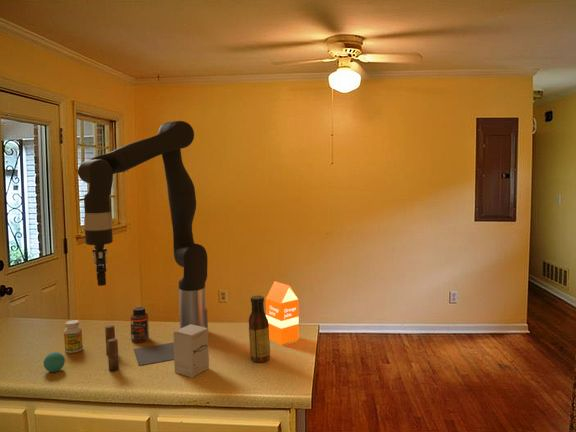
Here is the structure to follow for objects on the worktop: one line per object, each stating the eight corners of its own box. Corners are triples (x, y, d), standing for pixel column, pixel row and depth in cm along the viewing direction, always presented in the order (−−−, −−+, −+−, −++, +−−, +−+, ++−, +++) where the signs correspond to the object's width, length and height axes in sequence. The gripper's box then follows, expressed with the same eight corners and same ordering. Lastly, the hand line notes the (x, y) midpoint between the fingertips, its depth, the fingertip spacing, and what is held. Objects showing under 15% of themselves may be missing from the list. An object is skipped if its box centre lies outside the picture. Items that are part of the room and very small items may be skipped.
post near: (118, 366, 138) (117, 338, 138) (119, 370, 136) (117, 341, 135) (108, 368, 137) (107, 339, 136) (109, 372, 135) (107, 342, 134)
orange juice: (281, 346, 154) (280, 287, 152) (265, 338, 161) (265, 282, 158) (299, 340, 159) (298, 283, 156) (283, 333, 165) (282, 279, 163)
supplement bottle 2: (132, 344, 156) (130, 311, 155) (130, 338, 162) (128, 307, 160) (150, 341, 159) (148, 309, 157) (147, 335, 164) (146, 304, 163)
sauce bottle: (273, 356, 145) (272, 295, 143) (265, 364, 139) (264, 300, 137) (254, 353, 147) (253, 293, 145) (246, 361, 142) (244, 298, 139)
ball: (65, 365, 140) (64, 347, 139) (65, 373, 135) (63, 354, 134) (44, 369, 137) (43, 351, 137) (43, 376, 132) (42, 358, 132)
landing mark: (176, 342, 157) (176, 341, 157) (185, 357, 145) (184, 357, 145) (133, 349, 152) (133, 348, 152) (138, 365, 139) (138, 365, 139)
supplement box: (192, 378, 131) (191, 335, 129) (173, 372, 135) (172, 330, 133) (210, 368, 137) (208, 327, 136) (191, 363, 141) (190, 323, 139)
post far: (115, 351, 150) (114, 324, 149) (116, 354, 148) (114, 327, 147) (106, 352, 149) (104, 326, 148) (106, 356, 146) (105, 328, 146)
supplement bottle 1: (81, 345, 155) (79, 318, 154) (84, 350, 151) (82, 322, 150) (63, 349, 152) (62, 321, 151) (66, 354, 148) (64, 325, 147)
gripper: (113, 229, 130) (116, 286, 132) (110, 224, 143) (113, 276, 145) (84, 231, 127) (88, 289, 129) (84, 225, 140) (87, 278, 142)
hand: (101, 282), depth 137 cm, fingers open, 7 cm apart
